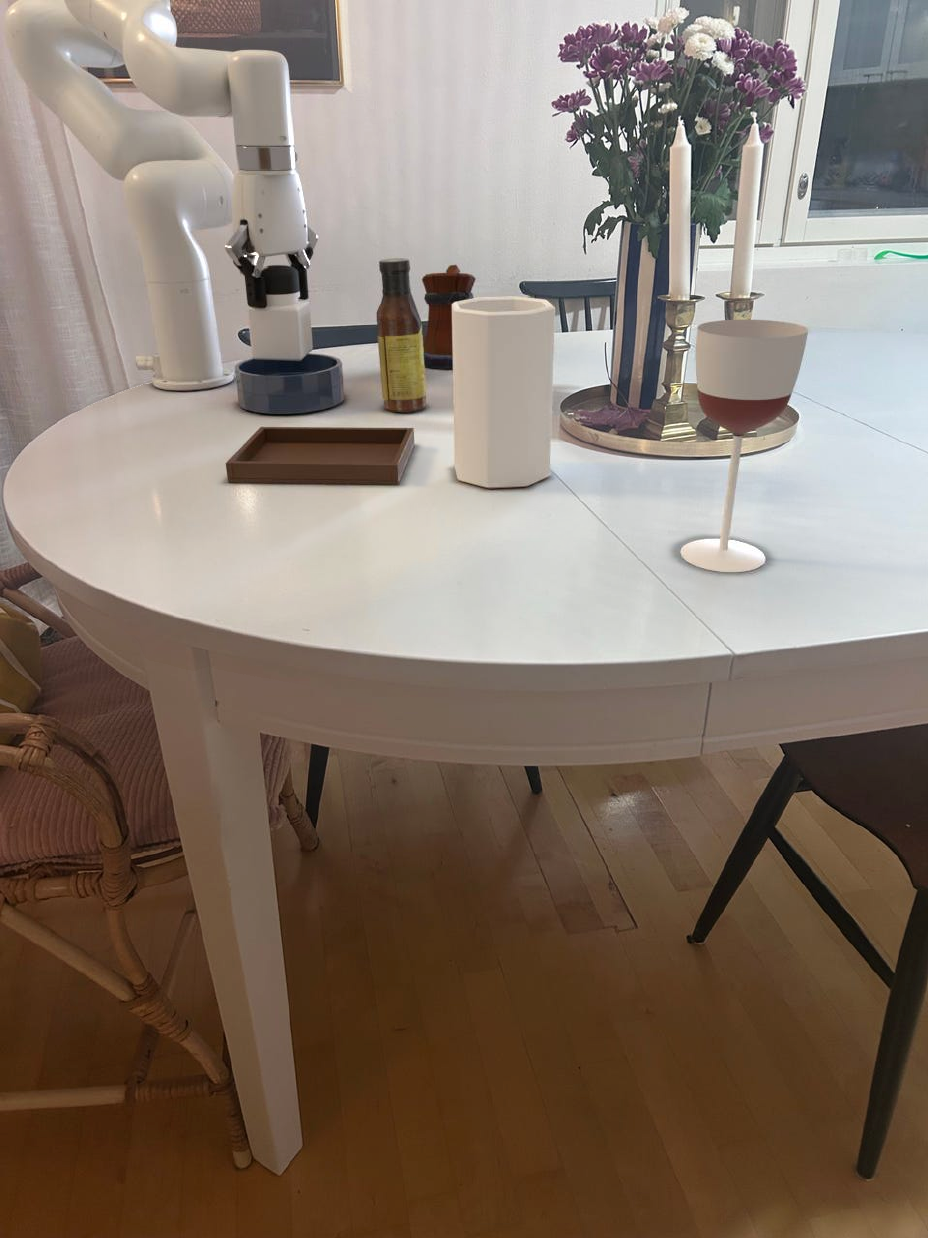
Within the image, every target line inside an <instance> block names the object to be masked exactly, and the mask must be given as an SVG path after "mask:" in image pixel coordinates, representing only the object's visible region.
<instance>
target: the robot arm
mask: <svg viewBox="0 0 928 1238" xmlns="http://www.w3.org/2000/svg"><path fill="white" fill-rule="evenodd" d="M171 8H172V7H171V1H170V0H17V1H15V2H14V3H12V4H10V5H9V6H8V8H7V10H6V12H5V15H4V19H3V20H4V21H3V30H4V37H5V41H6V45H7V49H8V52H9V55H10V58H11V60H12V62H13V65H14V67H15V69H16V70H17V72H18V74H19V76H20V78H21V79H22V81H23V82H24V83H25V85H26V86H27V88H28V89H29V90H30V92H32V93H33V94H34V96H35V97H36V98H37V99H38V100H39V101H41V103H42V104H43V105H44V106H45V107H46V108H48V110H49V111H51V112H52V113H53V114H54V115H55V116H56V117H57V118H58V119H59V120H60V121H61V122H62V123H63V124H64V125H65V126H66V127H67V128H68V129H69V131H70V132H71V134H72V135H73V136H74V137H75V138H76V139H77V141H78V142H79V143H80V144H81V145H82V146H83V148H84V149H85V150H86V151H87V153H88V154H89V155H90V156H91V157H92V159H93V160H95V162H96V163H97V164H98V166H100V167H101V169H102V170H103V171H104V172H105V173H107V175H109V176H110V177H111V178H113V179H115V180H117V181H121V182H123V185H122V194H123V196H122V197H123V201H124V205H125V209H126V211H127V214H128V217H129V221H130V222H131V225H132V228H133V231H134V235H135V237H136V241H137V245H138V249H139V254H140V258H141V263H142V268H143V269H142V270H143V274H144V280H145V285H146V292H147V298H148V303H149V309H150V315H151V322H152V327H153V332H154V338H155V344H156V349H157V350H156V351H157V353H155V354H154V355H152V356H150V355H136V356H135V359H134V362H135V366H136V368H137V369H138V370H139V371H148V370H151V371H153V372H154V375H153V376H152V377H151V380H152V381H151V382H152V385H153V386H154V387H155V388H157V389H160V390H165V391H166V390H167V391H196V390H197V391H198V390H207V389H212V388H217V387H221V386H225V385H227V384H229V383H231V382H233V380H234V379H235V376H234V371H233V370H232V369H230V368H228V367H223V362H222V354H221V347H220V340H219V332H218V325H217V318H216V311H215V304H214V303H215V302H214V296H213V289H212V282H211V275H210V267H209V263H208V260H207V258H206V257H207V256H206V255H205V253H204V250H203V249H202V247H201V246H200V245H199V243H198V241H197V240H196V239H195V237H194V235H193V234H192V232H194V231H204V230H213V229H218V228H223V227H227V226H229V225H231V224H232V236H231V237H230V239H229V240H228V241H227V242H226V244H225V247H224V250H225V252H226V254H227V255H228V256H229V258H230V259H231V260H232V263H233V265H234V266H235V267H236V268H237V269H238V270H239V273H240V275H241V276H243V277H244V285H245V292H246V302H247V303H246V304H247V306H248V307H249V306H251V307H257V308H266V307H267V298H266V287H265V279H264V277H260V275H261V271H262V268H263V266H264V264H265V262H266V261H265V260H266V258H267V257H274V256H281V255H284V256H285V258H286V260H287V262H288V264H289V266H291V267H293V268H295V269H296V270H297V271H298V276H299V289H300V297H299V298H298V299H303V300H309V298H310V297H309V284H308V270H309V269H310V268H311V263H310V261H311V259H312V258H313V255H314V250H315V248H316V246H317V243H318V239H319V236H318V235H317V234H316V232H314V231H313V230H312V229H311V227H310V226H309V225H308V223H307V213H306V205H305V199H304V194H303V188H302V183H301V180H300V179H301V178H300V176H299V172H297V163H296V162H297V160H298V153H297V152H296V148H295V136H294V135H295V134H294V123H293V110H292V95H291V83H290V81H291V80H290V70H289V69H290V68H289V63H288V61H287V59H286V57H285V56H284V55H283V54H282V53H281V52H279V51H274V50H267V49H241V50H235V51H227V50H216V49H205V48H196V47H195V48H194V47H179V46H177V45H176V44H177V39H178V29H177V27H178V26H177V23H176V20H175V17H174V15H173V13H172V11H171V10H172V9H171ZM124 65H125V68H126V71H127V73H128V76H129V78H130V80H131V82H132V83H133V85H134V86H135V87H136V89H137V90H138V91H140V92H141V94H143V95H144V96H145V97H147V98H148V99H149V100H151V101H152V102H153V103H155V104H157V105H158V106H159V107H160V108H163V109H165V110H151V109H148V110H143V109H136V108H132V107H129V106H127V105H125V104H124V103H123V102H122V101H121V100H120V99H119V98H118V97H117V96H116V94H114V93H113V91H112V90H111V89H110V87H108V85H107V84H105V82H103V81H102V80H101V79H99V78H98V77H96V76H95V75H93V73H90V72H88V71H87V70H85V69H84V68H95V69H96V68H98V69H112V68H119V67H121V66H124ZM183 117H184V118H183ZM185 117H189V118H207V117H208V118H213V117H214V118H232V125H233V135H234V136H233V137H234V144H235V154H236V165H237V166H236V167H237V173H233V172H232V170H231V169H230V168H229V166H228V165H227V164H226V162H225V161H224V160H223V159H222V158H221V156H220V155H219V154H218V153H217V151H215V150H214V149H213V148H212V146H211V145H210V144H209V143H208V142H207V141H206V139H205V138H204V137H203V136H202V135H201V133H199V132H198V130H197V129H196V128H195V127H194V126H193V125H192V124H191V123H190V122H189V121H188V120H187V119H185ZM253 260H254V261H253Z"/></svg>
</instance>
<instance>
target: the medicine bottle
mask: <svg viewBox="0 0 928 1238" xmlns="http://www.w3.org/2000/svg"><path fill="white" fill-rule="evenodd" d="M260 277H264V279H265V287H266V298H267V307H266V308H257V307H251V306H248V307H247V310H246V312H247V320H248V330H249V338H250V339H249V340H250V349H251V358H253V359H258V360H290V361H301V360H302V359H303V358H304V357H305V356H306V355H307V354H308V353H312V351H313V349H314V346H313V345H314V344H313V332H312V331H313V329H312V317H311V304H310V301H309V299H306V300H303V299H298V298H299V297H300V289H299V276H298V271H297V270H296V269H295V268H293V267H291V266H290V265H285V264H281V265H280V264H273V265H271V264H269V265H263V268H262V271H261V275H260Z"/></svg>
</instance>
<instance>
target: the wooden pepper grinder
mask: <svg viewBox="0 0 928 1238" xmlns="http://www.w3.org/2000/svg"><path fill="white" fill-rule="evenodd" d="M421 281H422V284H423V287H424V291H425V294H424V298H423V299H424V301H425V303H426V305H428V317H427V326H426V330H425V334H424V336H423V348H424V349H423V350H424V364H425V368H431V369H438V370H439V369H440V370H453V346H452V304H453V303H454V302H458V301H463V300H468V299H473V298H475V297H474V293H473V292H472V290H473V287H474V284H475V282H476V277H475V276H474V275H473V274H469V273H463V272H461V269H460V268H459V266H458V265H457V264H452V265H448V267H447V269H446V270H445V272H433V273H427V274H424V276H423V277H422V279H421Z"/></svg>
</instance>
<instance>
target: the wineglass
mask: <svg viewBox="0 0 928 1238" xmlns="http://www.w3.org/2000/svg"><path fill="white" fill-rule="evenodd" d="M808 334H809V329H808V327H806V326H804V325H801V324H797V323H792V322H785V321H779V320H769V319H767V320H766V319H724V320H714V321H708V322H704V323H701V324H699V325H698V326H697V328H696V340H695V351H694V352H695V353H694V356H695V378H696V389H697V397H698V398H697V399H698V403H699V407H700V409H701V411H702V413H703V414H704V415H705V416H706V417H707V418H708V419H709V420H710V421H711V422H712V423H714V424H715V425H717V426H719V427H721V429H724V430H726V431H727V432H729V433H731V434H732V435H733V436H732V437H733V438H732V444H731V445H732V447H731V452H730V453H731V454H730V460H729V468H728V476H727V483H726V491H725V500H724V508H723V515H722V522H721V530H720V538H704V539H703V538H702V539H697V540H693V541H690V542H688V543H686V544H684V545H682V546H681V550H680V552H679V553H680V555H681V558H682V559H683V560H685V561H686V562H687V563H689V564H691V565H693V566H695V567H697V568H701V569H704V570H707V571H708V570H709V571H713V572H719V573H744V572H750V571H752V570H756V569H759V568H760V567H761V566H763V565H765V563H766V560H767V559H766V556H765V554H764V552H763V551H761V550H760V549H758V548H757V547H755V546H753V545H750V544H748V543H746V542H740V541H737V540H732V539H730V535H731V527H732V520H733V512H734V504H735V497H736V489H737V484H738V483H737V482H738V474H739V466H740V461H741V452H742V446H743V444H742V443H743V438H744V436H745V435H746V434H748V433H750V432H752V431H755V430H757V429H759V428H762V427H764V426H766V425H769V424H770V423H771V422H774V421H775V420H776V419H777V418H779V417H780V416H781V415H782V413H783V412H784V411H785V410H786V408H787V407H788V404H789V402H790V399H791V397H792V394H793V391H794V388H795V386H796V383H797V380H798V377H799V374H800V370H801V368H802V367H801V366H802V362H803V358H804V354H805V351H806V345H807V340H808Z"/></svg>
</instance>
